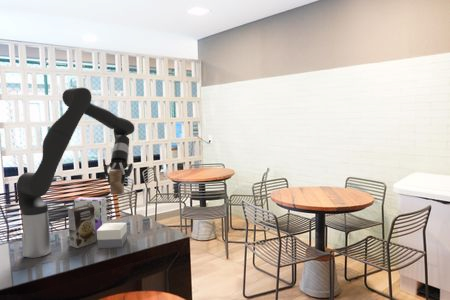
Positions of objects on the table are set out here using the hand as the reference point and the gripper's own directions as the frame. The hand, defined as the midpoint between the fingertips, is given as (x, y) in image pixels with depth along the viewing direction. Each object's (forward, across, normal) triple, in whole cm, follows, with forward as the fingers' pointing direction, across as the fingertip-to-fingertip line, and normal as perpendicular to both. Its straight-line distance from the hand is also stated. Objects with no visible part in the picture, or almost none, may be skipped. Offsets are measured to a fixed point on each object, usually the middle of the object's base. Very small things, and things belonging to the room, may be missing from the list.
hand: (115, 182), depth 162 cm
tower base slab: (+26, 0, +10) cm, 27 cm away
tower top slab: (+23, 0, +7) cm, 24 cm away
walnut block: (+2, 0, +5) cm, 6 cm away
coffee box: (+25, -13, +10) cm, 30 cm away
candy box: (+13, -14, +22) cm, 29 cm away
